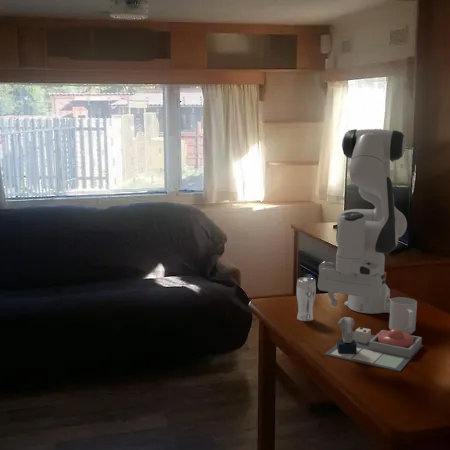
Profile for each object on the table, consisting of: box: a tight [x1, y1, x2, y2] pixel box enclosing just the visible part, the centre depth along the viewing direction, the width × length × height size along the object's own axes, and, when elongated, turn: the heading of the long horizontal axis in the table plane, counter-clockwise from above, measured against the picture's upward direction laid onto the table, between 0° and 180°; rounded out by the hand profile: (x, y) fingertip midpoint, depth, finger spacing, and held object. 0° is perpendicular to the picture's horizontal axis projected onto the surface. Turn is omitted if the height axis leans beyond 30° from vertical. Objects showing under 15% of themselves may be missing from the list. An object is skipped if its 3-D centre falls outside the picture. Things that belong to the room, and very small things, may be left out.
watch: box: [336, 316, 357, 354], centre depth 199 cm, size 6×8×11 cm
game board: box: [324, 326, 424, 373], centre depth 201 cm, size 25×24×4 cm
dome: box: [377, 328, 414, 348], centre depth 203 cm, size 11×11×6 cm
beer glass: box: [296, 276, 317, 322], centre depth 231 cm, size 7×7×15 cm
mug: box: [388, 296, 418, 335], centre depth 217 cm, size 12×9×11 cm
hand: (348, 308), depth 197 cm, fingers open, 8 cm apart
